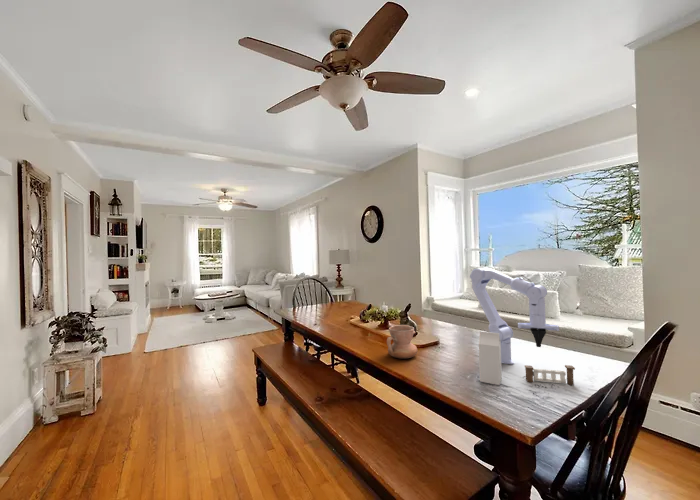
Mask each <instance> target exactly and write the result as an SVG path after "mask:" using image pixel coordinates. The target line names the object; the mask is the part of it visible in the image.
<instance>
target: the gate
mask: <svg viewBox="0 0 700 500" xmlns="http://www.w3.org/2000/svg"><path fill="white" fill-rule="evenodd" d="M533 369H534V370H533V372H534V376H533V381H535V382H545V383H546V382H547V383H554V384H556V383H557V384H567V378H566V376H567V371H565V370H558V369H557V370H555V369H554V370H553V369H542V368H533ZM539 373H540V374H541V376H539ZM547 375H550V377H547ZM557 375H559V378H556V376H557Z"/></svg>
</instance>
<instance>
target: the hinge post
mask: <svg viewBox="0 0 700 500" xmlns="http://www.w3.org/2000/svg"><path fill="white" fill-rule="evenodd" d="M564 367H565V369H566V384H567V385H569V386H574V383H575V382H574V381H575V380H574V370H575V369H576V367H574V366H573V365H568V364H565V365H564Z"/></svg>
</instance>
